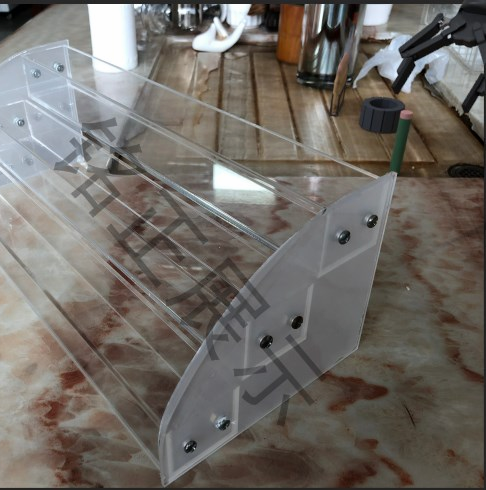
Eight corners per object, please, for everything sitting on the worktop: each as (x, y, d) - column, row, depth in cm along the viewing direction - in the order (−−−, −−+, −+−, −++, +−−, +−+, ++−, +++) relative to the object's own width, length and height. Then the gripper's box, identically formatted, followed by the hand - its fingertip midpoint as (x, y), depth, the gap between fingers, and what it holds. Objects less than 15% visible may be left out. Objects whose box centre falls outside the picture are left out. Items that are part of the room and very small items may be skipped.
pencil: (401, 174, 111) (415, 112, 104) (394, 176, 110) (407, 115, 103) (393, 170, 112) (406, 109, 106) (386, 172, 112) (398, 111, 105)
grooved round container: (408, 127, 129) (413, 105, 126) (381, 136, 125) (385, 113, 123) (378, 115, 135) (382, 94, 132) (350, 123, 132) (354, 101, 129)
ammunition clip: (336, 100, 144) (343, 49, 138) (343, 100, 144) (351, 50, 137) (328, 115, 136) (336, 62, 129) (337, 116, 135) (344, 63, 129)
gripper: (564, 23, 103) (500, 128, 103) (429, 2, 119) (373, 93, 119) (562, -5, 97) (494, 107, 98) (421, -23, 113) (362, 73, 113)
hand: (428, 100), depth 108 cm, fingers open, 13 cm apart
